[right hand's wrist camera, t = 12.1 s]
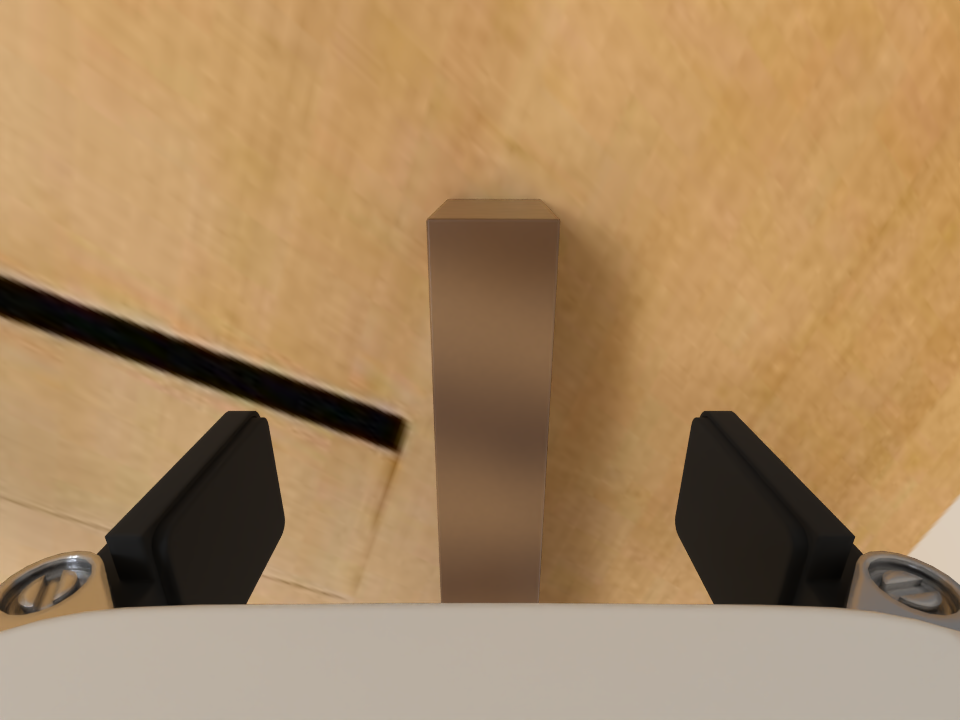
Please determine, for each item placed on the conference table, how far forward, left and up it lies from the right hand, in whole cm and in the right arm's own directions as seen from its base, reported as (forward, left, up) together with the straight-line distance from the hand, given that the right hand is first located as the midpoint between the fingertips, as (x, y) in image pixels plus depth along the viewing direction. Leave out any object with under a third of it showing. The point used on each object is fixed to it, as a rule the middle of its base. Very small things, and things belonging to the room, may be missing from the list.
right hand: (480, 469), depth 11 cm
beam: (+29, 0, -17) cm, 34 cm away
